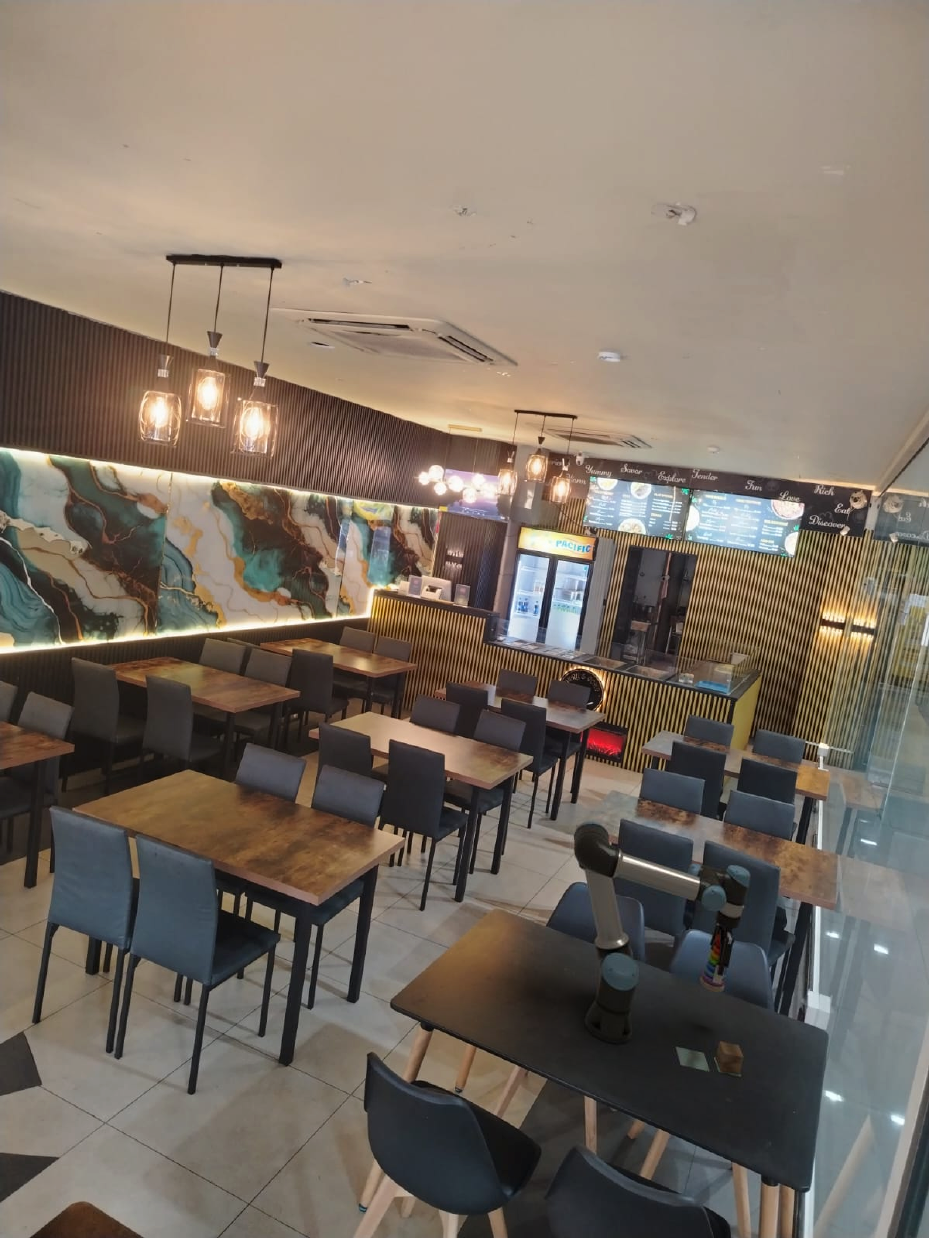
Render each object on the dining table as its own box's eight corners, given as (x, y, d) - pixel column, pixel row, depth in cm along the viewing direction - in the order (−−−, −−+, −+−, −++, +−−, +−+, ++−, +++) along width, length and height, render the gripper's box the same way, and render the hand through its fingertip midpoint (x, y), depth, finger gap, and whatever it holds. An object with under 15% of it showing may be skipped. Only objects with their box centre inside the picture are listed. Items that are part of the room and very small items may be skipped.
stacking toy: (725, 995, 265) (738, 943, 263) (700, 988, 266) (713, 936, 264) (721, 983, 273) (734, 931, 271) (698, 976, 274) (710, 925, 272)
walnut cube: (720, 1070, 249) (724, 1052, 248) (715, 1058, 255) (719, 1041, 254) (739, 1075, 248) (743, 1057, 248) (734, 1062, 254) (738, 1045, 254)
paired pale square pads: (670, 1073, 245) (671, 1069, 245) (662, 1041, 261) (663, 1037, 261) (749, 1091, 243) (750, 1087, 243) (736, 1057, 259) (736, 1054, 259)
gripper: (749, 929, 256) (732, 995, 259) (732, 901, 277) (717, 962, 279) (726, 924, 257) (709, 990, 259) (710, 896, 277) (696, 957, 279)
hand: (713, 975), depth 269 cm, fingers closed on stacking toy, 7 cm apart
